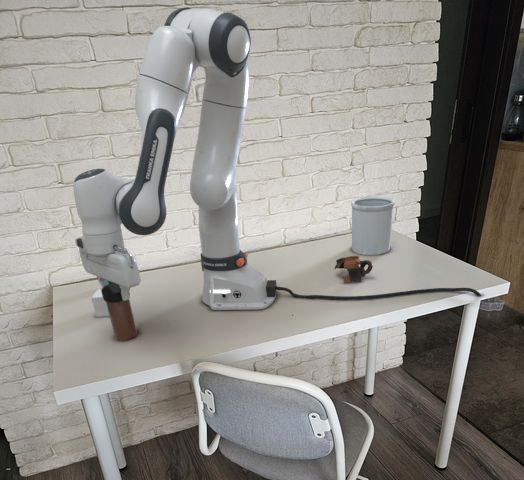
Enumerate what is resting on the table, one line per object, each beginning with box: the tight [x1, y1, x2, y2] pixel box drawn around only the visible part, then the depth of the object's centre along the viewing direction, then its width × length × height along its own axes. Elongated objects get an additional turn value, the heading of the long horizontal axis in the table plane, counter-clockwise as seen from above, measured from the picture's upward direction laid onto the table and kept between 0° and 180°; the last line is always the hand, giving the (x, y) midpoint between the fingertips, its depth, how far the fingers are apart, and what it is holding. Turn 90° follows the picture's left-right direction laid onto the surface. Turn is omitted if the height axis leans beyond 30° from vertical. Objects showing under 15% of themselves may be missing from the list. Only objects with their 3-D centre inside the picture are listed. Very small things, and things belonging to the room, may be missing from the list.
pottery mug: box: [334, 255, 374, 284], centre depth 152 cm, size 12×10×8 cm
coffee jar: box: [106, 298, 138, 342], centre depth 123 cm, size 6×6×13 cm
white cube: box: [91, 288, 110, 318], centre depth 139 cm, size 6×6×6 cm
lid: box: [101, 283, 131, 302], centre depth 120 cm, size 7×7×2 cm
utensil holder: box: [350, 195, 396, 256], centre depth 172 cm, size 15×15×18 cm
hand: (116, 295), depth 121 cm, fingers closed on lid, 6 cm apart
